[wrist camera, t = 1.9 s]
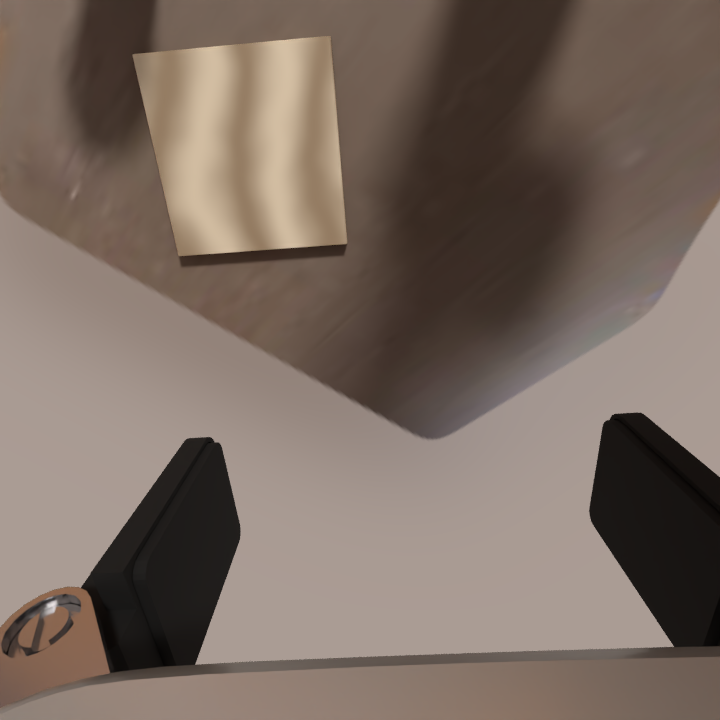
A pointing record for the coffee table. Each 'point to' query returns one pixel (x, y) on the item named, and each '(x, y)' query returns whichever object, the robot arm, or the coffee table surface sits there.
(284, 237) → the birch board
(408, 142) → the coffee table surface
